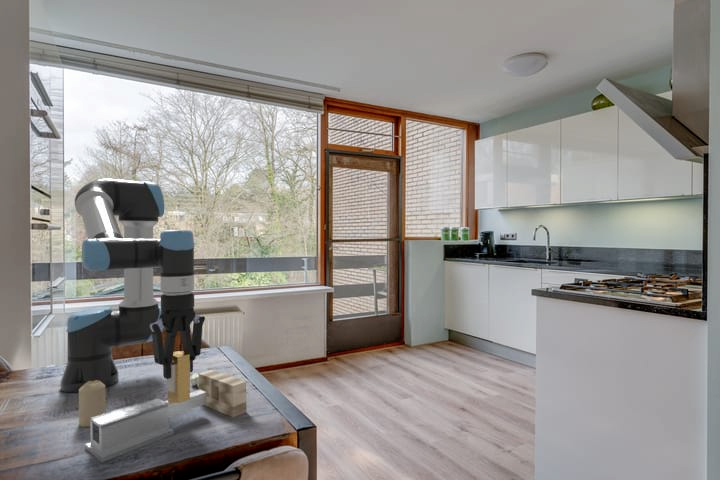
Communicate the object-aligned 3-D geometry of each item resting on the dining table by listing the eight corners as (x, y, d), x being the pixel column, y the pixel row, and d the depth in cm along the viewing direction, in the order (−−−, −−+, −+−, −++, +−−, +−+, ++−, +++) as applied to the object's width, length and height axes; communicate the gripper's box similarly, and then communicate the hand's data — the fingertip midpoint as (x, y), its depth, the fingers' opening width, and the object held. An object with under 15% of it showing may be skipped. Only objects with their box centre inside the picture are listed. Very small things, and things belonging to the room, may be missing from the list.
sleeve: (85, 448, 88) (84, 416, 88) (155, 423, 100) (155, 395, 100) (102, 462, 82) (101, 428, 82) (174, 434, 94) (173, 404, 94)
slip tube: (102, 433, 89) (101, 368, 89) (197, 400, 107) (197, 346, 107) (111, 439, 86) (111, 373, 86) (208, 404, 103) (208, 349, 103)
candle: (85, 429, 97) (85, 387, 97) (74, 423, 100) (74, 383, 100) (110, 420, 102) (109, 380, 102) (98, 415, 105) (98, 376, 105)
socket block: (198, 402, 113) (198, 373, 113) (211, 397, 116) (211, 369, 116) (233, 417, 103) (232, 385, 103) (246, 412, 106) (246, 381, 106)
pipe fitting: (207, 394, 120) (220, 384, 126) (207, 381, 120) (219, 372, 126) (184, 392, 122) (197, 383, 128) (183, 380, 121) (197, 371, 128)
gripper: (151, 298, 91) (152, 402, 91) (215, 290, 104) (216, 382, 104) (136, 295, 96) (137, 395, 96) (199, 288, 108) (200, 376, 109)
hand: (178, 388), depth 100 cm, fingers closed on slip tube, 3 cm apart
